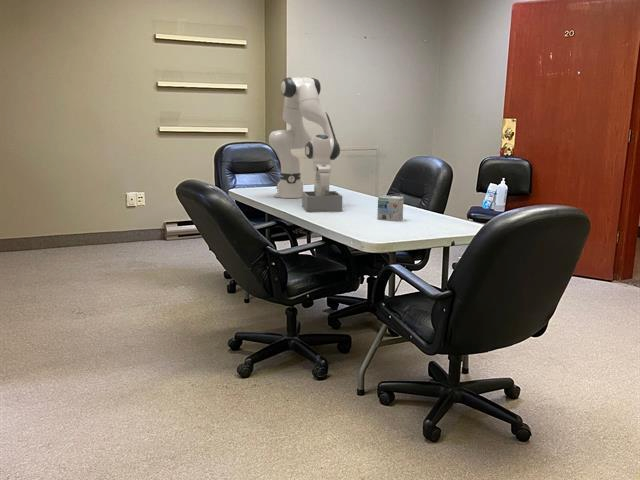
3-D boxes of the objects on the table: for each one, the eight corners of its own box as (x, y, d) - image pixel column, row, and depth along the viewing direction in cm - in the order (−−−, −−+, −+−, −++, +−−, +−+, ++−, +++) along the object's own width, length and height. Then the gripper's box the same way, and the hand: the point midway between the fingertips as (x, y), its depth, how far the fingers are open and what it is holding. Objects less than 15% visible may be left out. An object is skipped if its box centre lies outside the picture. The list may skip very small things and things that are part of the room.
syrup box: (320, 206, 311) (320, 179, 308) (329, 207, 308) (329, 180, 304) (313, 208, 307) (313, 180, 304) (322, 209, 303) (322, 181, 300)
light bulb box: (376, 219, 278) (377, 196, 276) (382, 217, 284) (382, 195, 282) (398, 221, 273) (399, 198, 271) (403, 219, 279) (404, 196, 277)
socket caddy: (302, 206, 314) (302, 191, 313) (335, 205, 317) (335, 191, 316) (306, 212, 297) (307, 196, 295) (342, 211, 300) (342, 195, 298)
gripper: (312, 165, 312) (312, 191, 315) (318, 169, 292) (318, 196, 295) (324, 165, 313) (324, 191, 316) (331, 169, 293) (331, 196, 296)
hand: (321, 193), depth 306 cm, fingers closed on syrup box, 7 cm apart
